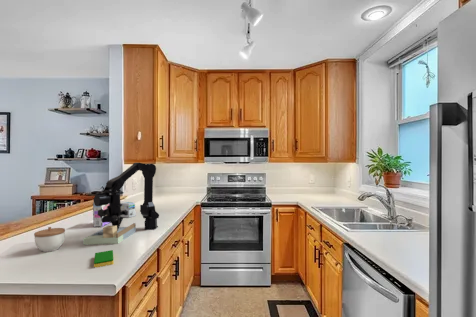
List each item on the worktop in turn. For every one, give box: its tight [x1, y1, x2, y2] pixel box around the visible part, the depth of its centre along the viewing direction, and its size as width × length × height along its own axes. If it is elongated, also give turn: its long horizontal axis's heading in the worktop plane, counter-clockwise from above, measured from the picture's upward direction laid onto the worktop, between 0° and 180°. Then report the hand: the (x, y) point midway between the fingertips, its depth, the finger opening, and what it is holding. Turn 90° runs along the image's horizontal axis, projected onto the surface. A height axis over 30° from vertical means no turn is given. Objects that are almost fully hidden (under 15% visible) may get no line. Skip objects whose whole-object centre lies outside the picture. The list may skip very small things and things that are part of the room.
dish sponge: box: [93, 249, 115, 268], centre depth 121 cm, size 7×14×2 cm, turn 25°
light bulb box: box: [120, 201, 137, 219], centre depth 216 cm, size 11×7×11 cm, turn 65°
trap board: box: [83, 222, 137, 246], centre depth 157 cm, size 18×23×5 cm
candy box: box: [92, 201, 112, 228], centre depth 191 cm, size 14×6×16 cm, turn 179°
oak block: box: [102, 225, 117, 238], centre depth 148 cm, size 5×5×5 cm
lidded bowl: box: [33, 226, 66, 253], centre depth 140 cm, size 13×13×11 cm
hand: (116, 231), depth 155 cm, fingers closed
